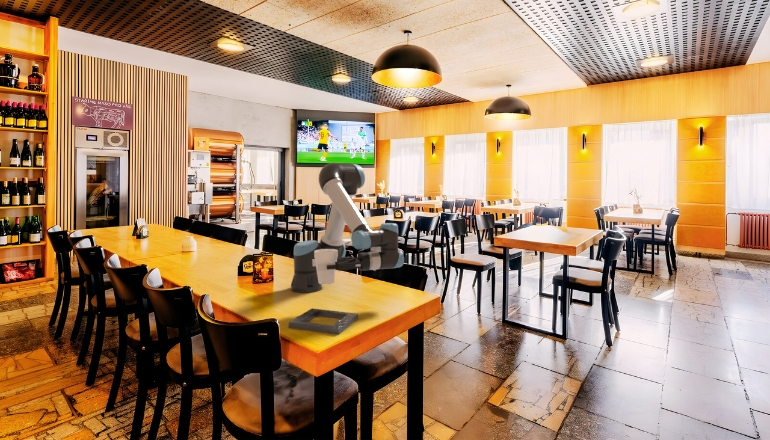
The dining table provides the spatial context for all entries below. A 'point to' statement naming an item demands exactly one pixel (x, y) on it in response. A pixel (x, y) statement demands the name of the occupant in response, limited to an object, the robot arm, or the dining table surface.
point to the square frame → (337, 328)
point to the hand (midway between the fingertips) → (315, 265)
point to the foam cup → (325, 257)
